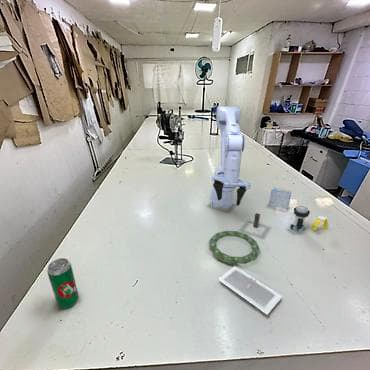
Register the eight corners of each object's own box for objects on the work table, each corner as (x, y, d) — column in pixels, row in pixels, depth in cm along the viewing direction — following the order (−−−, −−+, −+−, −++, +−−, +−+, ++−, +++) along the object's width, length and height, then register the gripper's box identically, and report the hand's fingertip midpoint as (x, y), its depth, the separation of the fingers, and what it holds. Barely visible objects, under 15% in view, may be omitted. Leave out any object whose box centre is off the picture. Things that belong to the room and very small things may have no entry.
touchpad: (266, 318, 56) (267, 311, 55) (217, 282, 66) (218, 276, 65) (281, 299, 61) (283, 293, 60) (234, 268, 71) (234, 263, 70)
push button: (300, 226, 93) (306, 203, 89) (310, 233, 88) (317, 210, 84) (286, 228, 91) (291, 205, 87) (295, 236, 86) (301, 212, 82)
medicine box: (288, 207, 106) (292, 190, 103) (286, 212, 103) (290, 194, 99) (270, 203, 110) (273, 186, 107) (268, 207, 107) (271, 189, 103)
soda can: (61, 293, 62) (51, 257, 57) (81, 292, 62) (73, 256, 57) (53, 310, 57) (42, 272, 52) (75, 309, 58) (65, 271, 53)
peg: (241, 230, 89) (243, 215, 87) (248, 221, 95) (250, 207, 93) (262, 237, 85) (265, 222, 83) (268, 227, 91) (271, 213, 89)
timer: (321, 227, 91) (325, 214, 89) (327, 231, 89) (331, 218, 87) (309, 230, 90) (313, 217, 87) (315, 234, 87) (319, 220, 85)
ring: (200, 253, 77) (200, 247, 76) (221, 230, 90) (222, 224, 89) (248, 274, 69) (249, 267, 68) (264, 245, 81) (266, 239, 80)
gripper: (208, 167, 86) (207, 200, 91) (247, 175, 78) (242, 211, 84) (217, 162, 91) (215, 194, 96) (254, 170, 84) (249, 203, 89)
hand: (228, 201), depth 91 cm, fingers open, 7 cm apart
